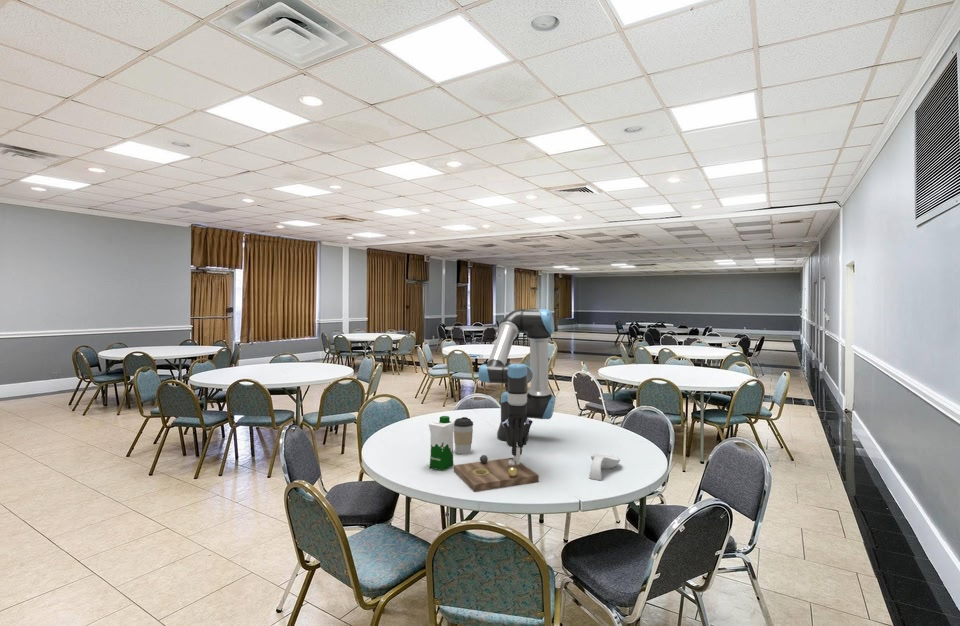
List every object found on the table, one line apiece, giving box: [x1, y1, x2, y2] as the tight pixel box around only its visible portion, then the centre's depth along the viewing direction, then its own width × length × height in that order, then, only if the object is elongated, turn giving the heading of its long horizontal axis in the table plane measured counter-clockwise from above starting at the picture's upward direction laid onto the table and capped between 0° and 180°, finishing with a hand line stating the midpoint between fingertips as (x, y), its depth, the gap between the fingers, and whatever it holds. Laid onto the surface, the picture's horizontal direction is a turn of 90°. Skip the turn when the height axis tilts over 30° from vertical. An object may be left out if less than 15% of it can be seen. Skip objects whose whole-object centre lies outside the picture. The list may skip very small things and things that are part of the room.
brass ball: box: [508, 467, 517, 477], centre depth 178 cm, size 4×4×4 cm
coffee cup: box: [453, 416, 474, 455], centre depth 215 cm, size 9×9×15 cm
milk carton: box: [428, 415, 454, 471], centre depth 195 cm, size 9×9×20 cm
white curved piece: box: [588, 453, 621, 481], centre depth 192 cm, size 24×12×7 cm, turn 154°
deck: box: [453, 457, 540, 492], centre depth 185 cm, size 26×22×2 cm
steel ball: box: [507, 459, 516, 467], centre depth 187 cm, size 3×3×3 cm
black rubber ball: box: [479, 454, 489, 463], centre depth 193 cm, size 3×3×3 cm
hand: (516, 463), depth 188 cm, fingers closed
